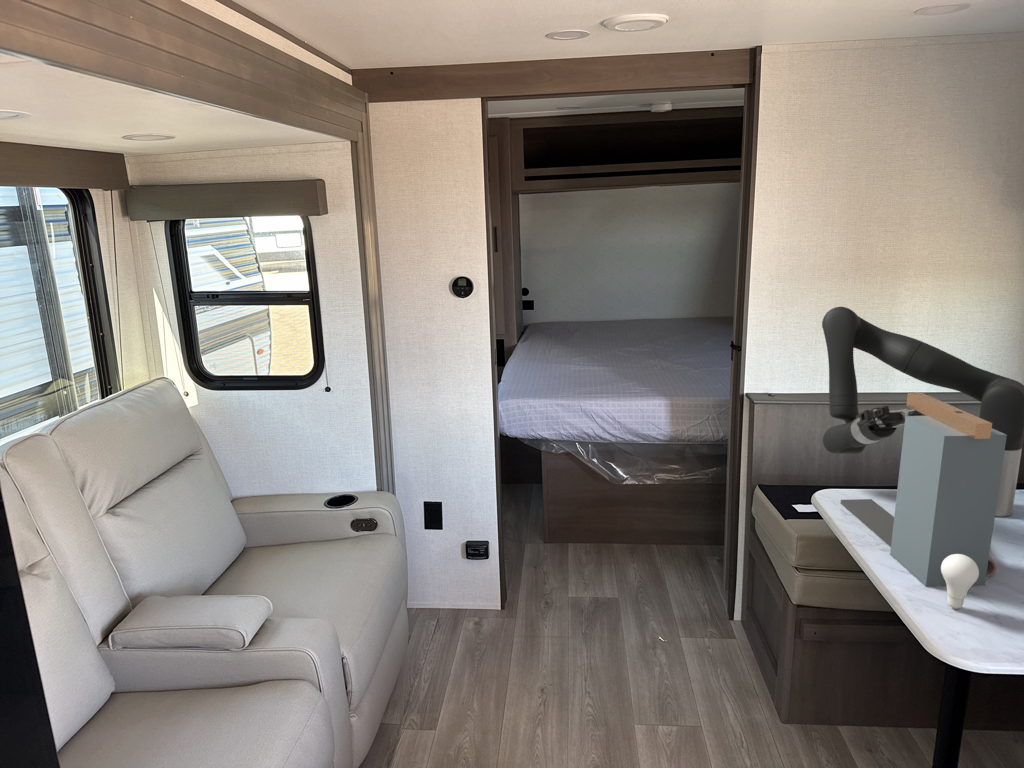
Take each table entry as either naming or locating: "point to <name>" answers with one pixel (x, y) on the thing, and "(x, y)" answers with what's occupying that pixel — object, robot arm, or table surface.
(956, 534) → the tall grey-blue box
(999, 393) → the robot arm
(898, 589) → the table surface
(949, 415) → the wooden plank with hole
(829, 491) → the table surface
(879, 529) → the rubber mat
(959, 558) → the lightbulb
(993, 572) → the coil
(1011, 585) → the table surface
